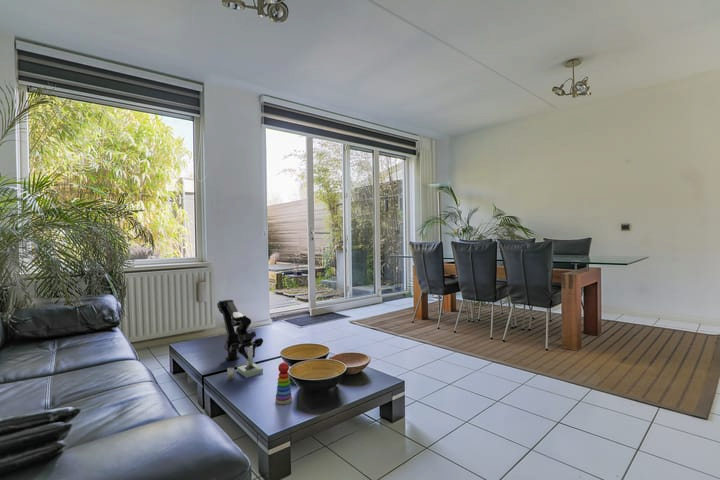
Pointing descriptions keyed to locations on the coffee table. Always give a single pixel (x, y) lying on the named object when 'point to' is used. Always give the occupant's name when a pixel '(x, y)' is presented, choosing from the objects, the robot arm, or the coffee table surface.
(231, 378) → the short pin
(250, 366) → the tall pin
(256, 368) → the hole plate
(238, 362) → the coffee table surface
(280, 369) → the stacking toy
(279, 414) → the coffee table surface
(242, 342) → the robot arm
